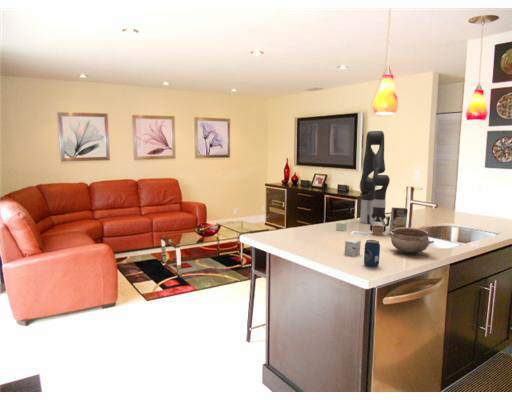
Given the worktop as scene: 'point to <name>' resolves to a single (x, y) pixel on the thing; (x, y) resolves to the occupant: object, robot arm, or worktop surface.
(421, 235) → the cooking pot
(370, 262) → the soda can
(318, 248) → the worktop surface
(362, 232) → the letter
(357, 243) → the skincare box
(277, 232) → the worktop surface
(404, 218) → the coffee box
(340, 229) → the sage cube
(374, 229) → the walnut block
